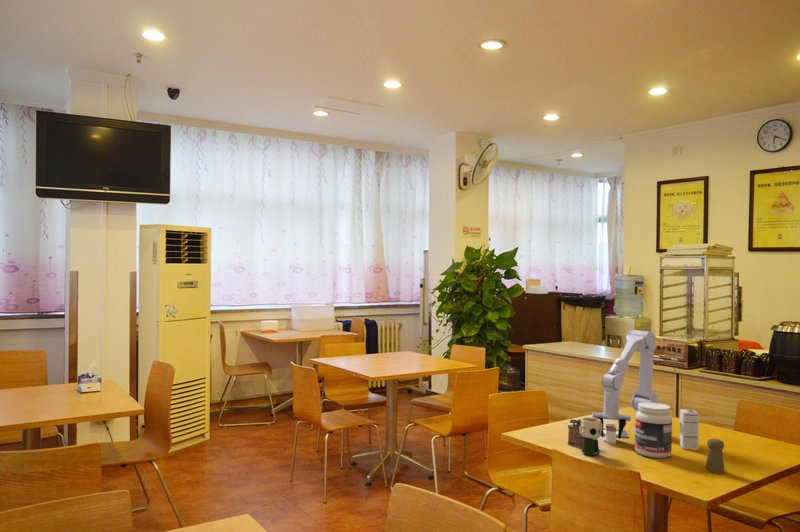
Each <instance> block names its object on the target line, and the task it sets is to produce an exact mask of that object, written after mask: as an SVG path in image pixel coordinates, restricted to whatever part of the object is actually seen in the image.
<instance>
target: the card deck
mask: <svg viewBox="0 0 800 532" xmlns="http://www.w3.org/2000/svg"><path fill="white" fill-rule="evenodd" d="M605 429H606V436H605V440H606V441H605V442H606V443H607V444H613V445H614V444H615V445H616V444H617V437H616V430H617V427H616V425H615V424H614V423H613V424H612V423H605Z"/></svg>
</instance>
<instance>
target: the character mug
mask: <svg viewBox="0 0 800 532" xmlns="http://www.w3.org/2000/svg"><path fill="white" fill-rule="evenodd" d="M580 419H581V426H580V427H579V433H580V434H581V435H582V436H584V437H585V438H584V439H583V444H582V446H581V452H582V453H584V454H585V455H588V456H596V453H597V455H600V447H599V440H598V439H599V438H600V437H601V431H602V423H601V420H600V419H597V418H592V416H591V417H590V416H586V417H581V418H580Z"/></svg>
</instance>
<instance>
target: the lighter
mask: <svg viewBox="0 0 800 532" xmlns="http://www.w3.org/2000/svg"><path fill="white" fill-rule="evenodd" d="M580 426H581V418H578V419H574V418H573V419H571V418H570V420H569V424H567V429H568V431H567V432H568V434H567V435H568V436H567V438H568V439H567V445H568V446H571V445H573V447H582V444H583V439H584V438H585V437H584V436H582V435H581V434H580V433H579V427H580Z"/></svg>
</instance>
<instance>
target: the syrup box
mask: <svg viewBox="0 0 800 532" xmlns="http://www.w3.org/2000/svg"><path fill="white" fill-rule="evenodd" d="M699 418H700V415H699V412H697V411H696V410H695V409H689V408H688V409H685V408H684V409H679V447H681V448H682V449H683V450H687V449H695V450H694V451H699V449H700V448H699V441H700V439H699V438H700V437H699V433H700V432H699V430H700V429H699V425H700V424H699V423H700V422H699V420H700V419H699Z"/></svg>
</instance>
